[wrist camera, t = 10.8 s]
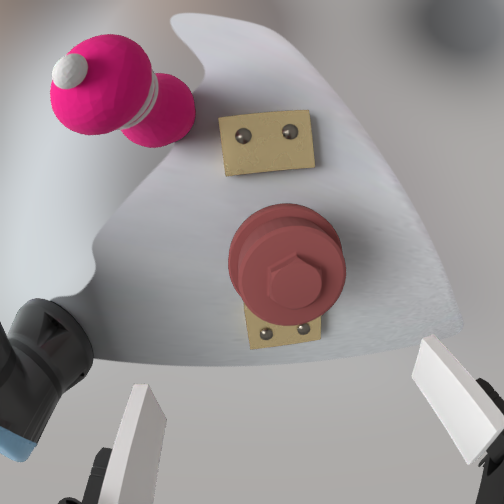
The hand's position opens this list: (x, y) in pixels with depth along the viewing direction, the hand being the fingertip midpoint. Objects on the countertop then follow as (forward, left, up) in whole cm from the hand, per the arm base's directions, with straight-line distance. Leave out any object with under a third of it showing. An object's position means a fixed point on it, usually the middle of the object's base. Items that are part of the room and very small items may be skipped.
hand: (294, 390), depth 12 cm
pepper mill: (-8, +16, -22) cm, 28 cm away
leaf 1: (+2, -10, -21) cm, 24 cm away
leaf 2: (+2, +11, -21) cm, 24 cm away
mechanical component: (+2, +1, -22) cm, 22 cm away
